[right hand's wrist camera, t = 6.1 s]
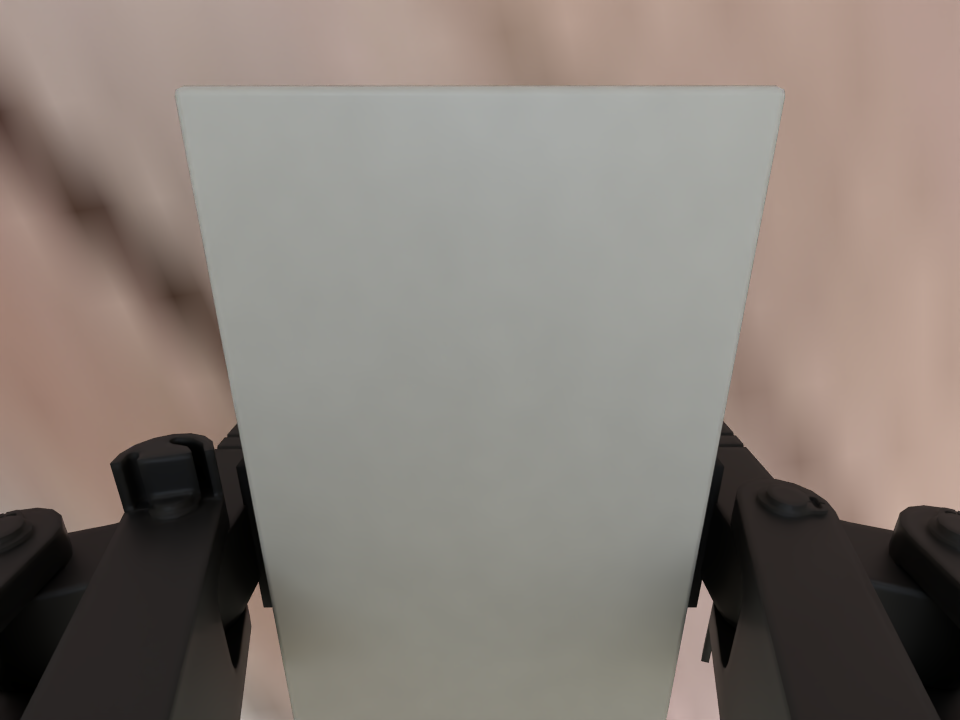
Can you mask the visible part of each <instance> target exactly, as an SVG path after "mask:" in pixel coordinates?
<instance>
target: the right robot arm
mask: <svg viewBox="0 0 960 720" xmlns="http://www.w3.org/2000/svg"><path fill="white" fill-rule="evenodd" d="M217 447H218V448H217V449H215V450H214V446H213V441H211V440H210V439H208V438H207V437H205V436H203V435H197V434H192V433H188V434H172V435H167V436H162V437H157V438H153V439H150V440H147V441H145V442H142V443H139V444H136V445H134V446H133V447H131V448H129V449H127V450H126V451H124V452H122V453H120V454H119V455H118V456H117V457H116V458H115V459H114V460H113V461H112V462H111V463H110V465H111V469H112V472H113V475H114V479H115V482H116V485H117V489H118V492H119V495H120V499H121V502H122V505H123V509H124V512H125V513H124V515H123V517H122V519H121V521H120V523H116V524H112V525H107V526H101V527H96V528H91V529H86V530H81V531H76V532H71V533H67V530H66V527H65V524H64V522H63V519H62V516H61V515H60V514H59V513H57V512H56V511H54V510H53V509H44V508H32V509H24V510H15V511H10V512H6V514H4V513H3V514H0V720H240V716H241V708H242V700H243V691H244V683H245V675H246V667H247V658H248V650H249V642H250V634H251V621H250V615H249V610H248V605H247V603H248V601H249V599H250V597H251V595H252V593H253V592H254V590H255V588H256V586H257V584H258V582H259V586H260V591H261V596H262V601H263V606H264V607H272V602H271V597H270V592H269V586H268V581H267V576H266V571H265V565H264V560H263V555H262V550H261V544H260V539H259V534H258V529H257V523H256V518H255V513H254V508H253V503H252V497H251V492H250V487H249V482H248V476H247V471H246V466H245V461H244V455H243V450H242V445H241V440H240V434H239V429H238V424H236V425H235V427H234V428H233V429H232V430H231V431H230V432H229V433H228V435H227V437H225V438H224V439H223V440H222V441H221V443H220V444H219V445H218V446H217ZM702 580H703V582H704V584H705V586H706V588H707V590H708V592H709V594H710V596H711V598H712V600H713V605H712V610H711V615H710V619H709V624H708V629H707V633H706V638H705V643H704V648H703V653H702V659H701V661H703V662H708V663H709V659H710V654H711V651H712V657H713V665H714V673H715V682H716V690H717V698H718V706H719V714H720V720H960V511H958V512H956V511H955V510H953V509H949V508H943V507H942V508H940V507H933V506H925V505H923V506H913V507H908V508H906V509H905V510H903V511H902V512H901V513H900V514H899V517H898V520H897V523H896V526H895V529H894V531H892V530H887V529H882V528H877V527H871V526H866V525H861V524H856V523H851V522H846V521H842V520H839V518H838V516H837V514H836V512H835V511H834V509H833V508H832V507H831V506H830V505H829V503H828V502H827V501H826V500H824V499H823V498H821V497H820V496H818V495H817V494H816V493H814V492H813V491H811V490H808V489H806V488H804V487H801V486H799V485H797V484H794V483H790V482H786V481H782V480H778V479H774V478H773V477H772V476H771V475H770V474H769V473H768V472H767V470H766V469H765V468H764V467H763V466H762V465H761V464H760V463H759V461H758V460H757V459H756V458H755V457H754V456H753V455H752V453H751V452H750V451H749V450H748V449H747V448H746V447H743V443H742V442H741V441H740V440H739V439H738V437H737V436H734V435H733V432H732V431H731V430H730V428H729V427H728V426H727V425H726V424H725V423H724V422H723V424H722V429H721V434H720V440H719V445H718V450H717V455H716V461H715V466H714V471H713V476H712V482H711V487H710V492H709V497H708V503H707V508H706V513H705V518H704V524H703V529H702V534H701V539H700V545H699V550H698V555H697V560H696V566H695V571H694V576H693V581H692V587H691V592H690V597H689V602H688V607H697V602H698V597H699V592H700V587H701V582H702Z"/></svg>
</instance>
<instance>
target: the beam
mask: <svg viewBox="0 0 960 720" xmlns="http://www.w3.org/2000/svg"><path fill="white" fill-rule="evenodd" d="M175 99H176V104H177V110H178V115H179V120H180V125H181V131H182V136H183V141H184V146H185V152H186V157H187V162H188V167H189V173H190V178H191V183H192V188H193V194H194V199H195V204H196V209H197V214H198V220H199V225H200V230H201V235H202V241H203V246H204V251H205V256H206V262H207V267H208V272H209V277H210V283H211V288H212V293H213V298H214V303H215V309H216V314H217V319H218V324H219V330H220V335H221V340H222V345H223V351H224V356H225V361H226V366H227V372H228V377H229V382H230V387H231V393H232V398H233V403H234V408H235V413H236V419H237V424H238V429H239V434H240V440H241V445H242V450H243V455H244V461H245V466H246V471H247V476H248V482H249V487H250V492H251V497H252V503H253V508H254V513H255V518H256V523H257V529H258V534H259V539H260V544H261V550H262V555H263V560H264V565H265V571H266V576H267V581H268V586H269V592H270V597H271V602H272V607H273V613H274V618H275V623H276V628H277V633H278V639H279V644H280V649H281V654H282V660H283V665H284V670H285V675H286V681H287V686H288V691H289V696H290V702H291V707H292V712H293V717H294V720H666V718H667V712H668V707H669V702H670V697H671V691H672V686H673V681H674V676H675V670H676V665H677V660H678V655H679V649H680V644H681V639H682V634H683V628H684V623H685V618H686V613H687V608H688V602H689V597H690V592H691V587H692V581H693V576H694V571H695V566H696V560H697V555H698V550H699V545H700V539H701V534H702V529H703V524H704V518H705V513H706V508H707V503H708V497H709V492H710V487H711V482H712V476H713V471H714V466H715V461H716V455H717V450H718V445H719V440H720V434H721V429H722V424H723V419H724V414H725V408H726V403H727V398H728V393H729V387H730V382H731V377H732V372H733V366H734V361H735V356H736V351H737V345H738V340H739V335H740V330H741V324H742V319H743V314H744V309H745V303H746V298H747V293H748V288H749V282H750V277H751V272H752V267H753V261H754V256H755V251H756V246H757V240H758V235H759V230H760V225H761V220H762V214H763V209H764V204H765V199H766V193H767V188H768V183H769V178H770V172H771V167H772V162H773V157H774V151H775V146H776V141H777V136H778V130H779V125H780V120H781V115H782V109H783V104H784V99H785V92H784V89H782V88H780V87H778V86H182V87H180V88H178V89H177V90H176V92H175Z"/></svg>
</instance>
